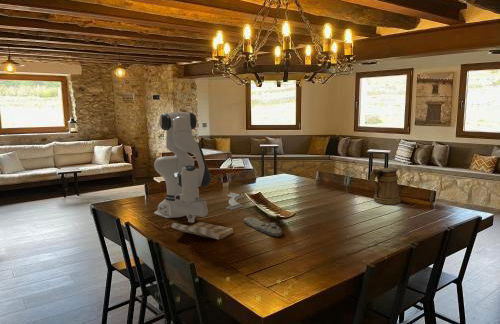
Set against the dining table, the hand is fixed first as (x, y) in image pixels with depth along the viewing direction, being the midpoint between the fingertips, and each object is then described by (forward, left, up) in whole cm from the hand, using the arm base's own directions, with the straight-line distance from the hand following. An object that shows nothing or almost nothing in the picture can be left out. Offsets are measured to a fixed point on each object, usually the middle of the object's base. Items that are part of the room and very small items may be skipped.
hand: (191, 222), depth 205 cm
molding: (-26, +77, -11) cm, 82 cm away
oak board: (0, +16, -10) cm, 19 cm away
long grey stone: (+22, +36, -11) cm, 44 cm away
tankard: (+70, +132, -11) cm, 150 cm away
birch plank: (0, +3, -7) cm, 7 cm away
